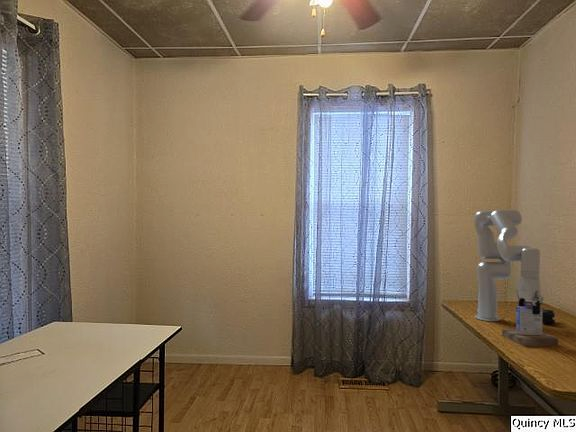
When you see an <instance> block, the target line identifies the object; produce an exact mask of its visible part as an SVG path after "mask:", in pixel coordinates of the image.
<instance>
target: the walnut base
mask: <svg viewBox="0 0 576 432" xmlns="http://www.w3.org/2000/svg"><path fill="white" fill-rule="evenodd" d="M502 337H505V338H507V339H509V340H511V341H513V342H514V343H517V344H518V345H520V346H523V347H546V346H547V347H549V346H550V347H553V346H554V347H555V346H559V338H557V337H555V336H552V335H550V334H547V333H545V332H543V331H542V335H521V334H519V333H517V332H516V328H511V329H510V328H508V329H507V328H505V329H502Z"/></svg>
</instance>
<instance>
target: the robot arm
mask: <svg viewBox="0 0 576 432" xmlns="http://www.w3.org/2000/svg"><path fill="white" fill-rule="evenodd" d="M522 219H523V217H522V214H521V213H520V211H518V210H517V209H496V210H489V209H488V210H487V209H486V210H479V211H477V212H476V213H475V215H474V217H473V226H474V229H475V231H476V237H477V251H478V256H479V257H480V259H483V260H497V261H482V262H479V263H478V264H477V266H476V275H477V280H478V281H477V283H478V284H477V285H478V290H477V291H478V295H477V296H478V298H477V299H478V301H477V302H478V303H477V304H478V305H477V309H476V312H477V314H475V316H474V318H475V319H477V320H479V321H485V322H499V321H501V317H500V316H499V315H498V286H497V284H496V282H495V281H494V280H507V279H509V278H510V277H511V275H512V262H520V276H519V277H518V278H519V279H518V283H517V284H518V285H517V289H516V290H515V291H516V296H517V301H518V306H520V307H524V302H527V301H528V302H532V304H533V309H532V314H540V308H541V306H542V304H543V301H544V300H545V299H544V297H543V295H541V282H540V267H541V266H540V263H541V261H540V260H541V251H540V249H539V248H537V247H536V248H535V247H532V246H529V245H509V244H508V243H507V241H510V240H512V239H513V238H514V237H516V236H517V234H518V232H519V231H518V228H517V226H520V224H521V223H522ZM490 227H495V230H497V231H496V232H497V233H498V235H499V236H498V237H497V240H496V241H495V234H494V232H493V230H492V229H491V228H490Z"/></svg>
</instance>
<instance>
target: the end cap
mask: <svg viewBox="0 0 576 432" xmlns="http://www.w3.org/2000/svg"><path fill="white" fill-rule="evenodd" d="M541 309H542V325H546V326H555V321H556V320H555V319H554V318H555V316H556V315H555V312H554V310H551V309H545V308H544V307H542V308H541Z"/></svg>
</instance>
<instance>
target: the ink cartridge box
mask: <svg viewBox="0 0 576 432" xmlns="http://www.w3.org/2000/svg"><path fill="white" fill-rule="evenodd" d="M533 305H534V304H533V302H532V301H526V302H524V307H520V306H519V305H518V306H517V305H516V306H515V310H516V311H515V318H516V319H515V321H516V323H515V324H516V325H515V326H516V327H515V329H516V332H517V333H519V334H521V335H542V332H543V323H542V308H541V307H540V314H532V309H533Z"/></svg>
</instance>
